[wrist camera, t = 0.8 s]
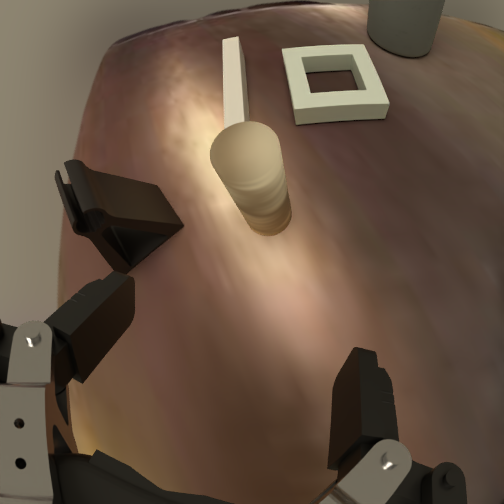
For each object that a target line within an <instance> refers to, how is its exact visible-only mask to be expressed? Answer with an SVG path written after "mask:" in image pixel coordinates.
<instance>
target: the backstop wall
mask: <svg viewBox="0 0 504 504" xmlns="http://www.w3.org/2000/svg"><path fill="white" fill-rule="evenodd" d="M223 92H224V129H226V128H227V127H229V126H231V125H233V124H236V123H239V122H246V121H250V117H249V105H248V93H247V82H246V70H245V59H244V55H243V51H242V48H241V44H240V41H239V37H233V38H228V39H223Z"/></svg>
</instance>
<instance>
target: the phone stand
mask: <svg viewBox="0 0 504 504" xmlns="http://www.w3.org/2000/svg"><path fill="white" fill-rule="evenodd" d="M64 165H65V167H66V170H67V173H68V176H69V178H70V181H71V184H64V183H63V181H62V178H61V175H60V172H59V171H58V170H57V171H56V173H55V181H56V184H57V187H58V190H59V193H60V196H61V199H62V202H63V205H64V207H65V210H66V213H67V216H68V218H69V221H70V224H71V226H72V229H73V231H74V232H75V233H76V234H78V235H81V236H85V237H87V238H89V239H90V240H91V241H92V242H93V244H94V245H95V246H96V248H97V249H98V250H99V252H100V253H101V254H102V256H103V257H104V258H105V260H106V261H107V262H108V263H109V265H110V266H111V267H112V269H113V270H114V271H118V272H120V273H123V274H125V275H126V274H127V273H128V272H129V271H130V270H131V269H133V268H134V267H135V266H136V265H137V264H139V263H140V262H141V261H142V260H143V259H145V258H146V257H147V256H148V255H149V254H150V253H151V252H153V251H154V250H155V249H157V248H158V247H159V246H160V245H162V244H163V243H164V242H165V241H167V240H168V239H169V238H170V237H171V236H173V235H174V234H175V233H176V232H178V231H179V230H180V229H182V228H183V226H184V225H183V224H182V222H181V221H180V219H179V218H178V216H177V215H176V213H175V212H174V210H173V209H172V207H171V206H170V204H169V203H168V201H167V200H166V198H165V197H164V195H163V194H162V192H161V190H160V189H159V187H158V186H157V185H153V184H149V183H145V182H141V181H137V180H132V179H128V178H124V177H120V176H115V175H111V174H107V173H102V172H98V171H94V170H91V169H89V168H88V167H86V166H85V164H84V163H83V162H82V161H80V160H69V161H66V162H64Z"/></svg>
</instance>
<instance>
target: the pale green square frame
mask: <svg viewBox="0 0 504 504" xmlns="http://www.w3.org/2000/svg"><path fill="white" fill-rule="evenodd" d="M282 53H283V60H284V66H285V71H286V75H287V80H288V85H289V90H290V96H291V101H292V106H293V112H294V117H295V123H296V125H299V124H309V123H320V122H332V121H346V120H363V119H385V117H386V114H387V111H388V107H389V104H390V103H389V101H388V98H387V96H386V93H385V91H384V88H383V86H382V84H381V81H380V79H379V77H378V74H377V72H376V70H375V67H374V65H373V63H372V61H371V59H370V57H369V55H368V52H367V50H366V48H365V46H364V44H350V45H323V46H309V47H297V48H287V49H282ZM335 70H351V71H352V74H353V76H354V79H355V82H356V84H357V87H358V90H356V91H336V92H322V93H310V89H309V85H308V81H307V77H306V74H305V73H307V72H319V71H335Z"/></svg>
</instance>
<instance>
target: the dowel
mask: <svg viewBox="0 0 504 504" xmlns="http://www.w3.org/2000/svg"><path fill="white" fill-rule="evenodd" d="M210 160H211V163H212V166H213V168H214V169H215V171H216V172H217V174H218V176H219V177H220V179H221V180H222V182H223V184H224V185H225V187H226V189H227V190H228V192H229V194H230V195H231V197H232V198H233V200H234V202H235V203H236V205H237V207H238V208H239V210H240V211H241V213H242V215H243V216H244V218H245V220H246V221H247V223H248V225H249V226H250V228H251V229H252V230H253V231H255V232H256V233H258V234H260V235H264V236H272V235H276V234H278V233H280V232H282V231H283V230H284V229H285V228H286V227H287V226H288V224H289V222H290V220H291V206H290V200H289V194H288V188H287V182H286V176H285V171H284V165H283V160H282V154H281V149H280V143H279V140H278V137H277V135H276V134H275V132H274V131H273V130H272V129H271V128H269V127H268V126H266V125H264V124H262V123H258V122H252V121H246V122H239V123H236V124H233V125H231V126H229V127H227V128H226V129H224V130H223V131H222V132H221V133H219V135H218V136H217V137H216V138H215V140H214V142H213V143H212V146H211V150H210Z"/></svg>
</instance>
